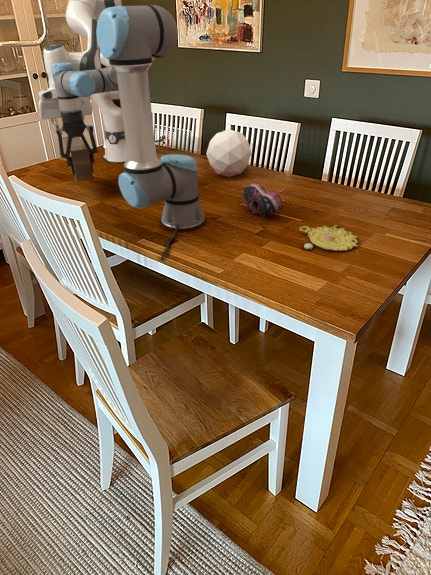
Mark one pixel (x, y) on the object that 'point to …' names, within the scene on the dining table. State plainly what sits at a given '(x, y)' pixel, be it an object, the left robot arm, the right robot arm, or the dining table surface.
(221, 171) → the sphere
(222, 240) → the dining table surface
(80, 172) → the box
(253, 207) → the athletic shoe
